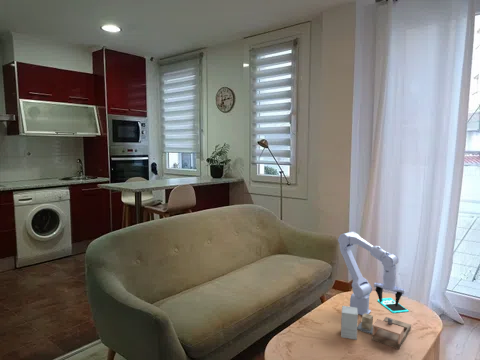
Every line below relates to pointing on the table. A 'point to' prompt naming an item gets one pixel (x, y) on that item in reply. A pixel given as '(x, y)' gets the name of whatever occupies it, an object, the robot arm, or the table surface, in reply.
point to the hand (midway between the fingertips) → (388, 303)
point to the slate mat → (365, 329)
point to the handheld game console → (392, 305)
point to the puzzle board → (391, 334)
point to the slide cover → (389, 328)
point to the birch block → (367, 321)
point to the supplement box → (349, 322)
